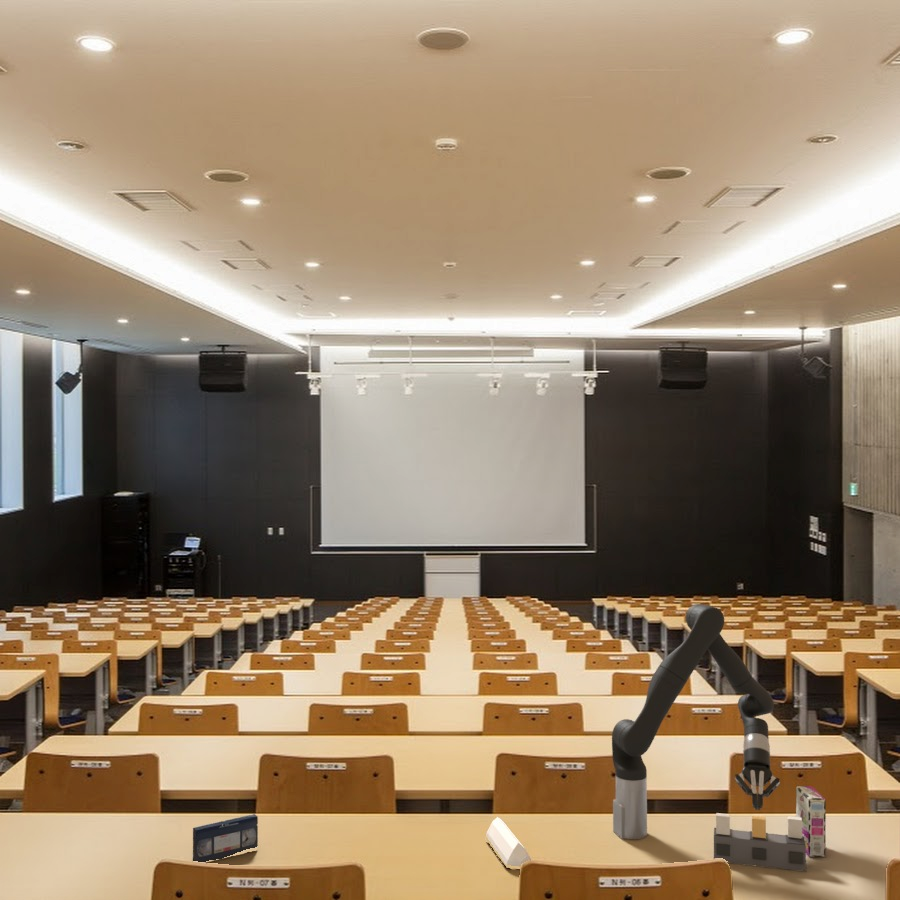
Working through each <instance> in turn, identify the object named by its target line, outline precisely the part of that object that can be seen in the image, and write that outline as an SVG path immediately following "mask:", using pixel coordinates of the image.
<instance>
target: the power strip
mask: <svg viewBox="0 0 900 900" xmlns="http://www.w3.org/2000/svg"><path fill="white" fill-rule="evenodd" d="M806 856H807V854H806V844H805V839H804V837H802V838H792V837H788V834H785V835H784V834H777V833H776V834H775V833H768V832H766V838H758V837H752V830H750V831H747V830H746V831H745V830H740V829H739V830H737V829H733V828H730V835H724V834H716V827H714V828H713V859H714V858H723V859H725V860H726V861H728V862H729V863H728V864H734V865H735V864H736V865H743V864H745V865H744V866H752V865H756V866H755V867H760V866H763V867H762V868H769V867H771V869H778V868H779V869H780V868H782V869H781V870H787V869H790V870H789V871H796V870H798V872H807V857H806Z"/></svg>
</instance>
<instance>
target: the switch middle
mask: <svg viewBox="0 0 900 900" xmlns="http://www.w3.org/2000/svg"><path fill="white" fill-rule="evenodd" d="M751 831H752V837H758V838H766V833H767V820H766V817H763V816H755V815H752V816H751Z"/></svg>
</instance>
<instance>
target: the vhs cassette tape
mask: <svg viewBox="0 0 900 900" xmlns="http://www.w3.org/2000/svg"><path fill="white" fill-rule="evenodd" d="M258 821H259V818H258V815H256V814H255V813H253V814H250V815H244V816H240V817H235V818H231V819H227V820H223V821H222V820H221V821H217V822H213V823H208V824H204V825H201V826H195V827H192V862H193V861H198V862H206V861H209V860H216V859H222V858H224V857H227V856H230V855H233V854H235V853H237V852H241V851H243V850H246V849H250V848H255V847H257V846H258V847H259V844H258V841H259V836H258V835H259V834H258V833H259V832H258V828H259V826H258V823H259V822H258ZM222 860H223V859H222Z"/></svg>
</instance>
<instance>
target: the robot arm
mask: <svg viewBox="0 0 900 900" xmlns="http://www.w3.org/2000/svg"><path fill="white" fill-rule="evenodd" d="M685 621H686V625H687V626H688V628H689V629H690V632H689V633H688V635H687V636H686V638H685V639H684V640H683V642H682V643H681V644H680V645H679V646H678V647H677V648H675V649H674V650H673V651H672V652H670V653H669V654H668V655H667V656H666V657H665V658H664V659H663V660H662V661H661V662H660V663H659V665H658V667H657V668H656V670H655V671H654V673H653V675H652V677H651V679H650V681H649V685H648V688H647V694H646V699H645V703H644V705H643V708H642V710H641V711H640V713H639V714H638V716H637V718H635V720H632V719H629V718H627V719H625V718H624V719H621V720H619V721H618V722H617V723H616V724H614V725H615V726H614V727H613V729H612V734H611V749H612V751H611V754H612V764H613V767H614V771H615V775H614V776H615V778H614V779H615V798H614V799H612V829H613V830H612V832H613V833H615V835H617V836H618V837H619V838H620V839H626V838H627V840H640V839H644V838H646V837H647V836H648V802H647V801H648V798H647V797H648V793H647V792H648V789H647V788H648V787H647V786H648V785H647V784H648V783H647V779H648V778H647V777H648V776H647V774H648V773H647V772H648V771H647V767H646V763H644V761H643V758H642V755H644V754H645V753H646V752H647V751H648V750H649V749H650V747H651V745H652V743H653V741H654V739H655V737H656V736H657V734H658V731H659V729H660V728H661V724H662V723H663V722H664V719H665V718H666V716H667V714H668V713H669V711H670V710H671V708H672V706H673V704H675V701H676V699H677V698H678V696H679V695H680V693H681V692H682V691H683V689H684V687H685V685H686V684H687V682H688V680H689V679H690V676H691V675H692V674H693V672H694V671H695V669H696V667H698V664H699V662H700V661H701V659H702V657H703V656H704V655H705V653H706V652H707V651H708V653H709V654H710V655H711V657H712V658H713V660H714V662H716V664H717V665H718V667H719V668H720V670H721V672H722V673H723V676H724V677H725V678H726V680H727V682H728V684H729V685H730V686H731V688H732V689H733V691H734V692H735V693H738V694H743V695H741V696H740V697H739V699H738V702H737V708H738V711H739V714H740V717H741V720H742V721H741V722H742V723H743V732H744V733H743V736H744V737H743V746H742V748H743V749H742V751H743V756H742V757H743V767H742V769H741V772H740V773H736V774H735V775H734V781H735V782H736V784H738V786H739V787H740V788H741V789H742V791H743V792H744V793H745V795H747V796H751V799H752V800H751V803H752V804H751V806H752V808H754V810H755V811H761V809H763V807H764V800H763V799H764V797H765V798H768V797H770V795H771V794H772V793H773V792H774V791H775V790H777V788H778V787H779V786H780V778H779V777H776V776H774V775H773V772H772V770H771V749H770V742H769V741H770V740H769V725H768V723H767V721H766V720H764V719H763V718H759V717H760V716H763V715H764V716H765V715H767V714H770V713H772V712H773V710H774V708H775V704H774V702H775V701H774V700H773V697H772V695H771V694H770V693H769V692H768V691H767V689H765V688H764V687H763V686H762V684H760V683H759V682H758V681H757V680H756V679H755V678H754V677H753V675H752V673H750V671H749V669H748V668H747V665H745V663H744V661H743V660H742V659H741V657H740V656H739V655H738V654H737V653H736V652H735V651H734V649H733V648H732V647H731V646H730V645H729V644H728V643H727V641H726V640H725V639H724V638H723V636H722V635H721V632H722V631H723V628H724V626H725V616H724V613H723V612H722V611H721V609H719V607H718V608H717V607H716V606H712V605H709V604H708V605H707V604H703V603H701V604H700V603H698V604H697V603H695V604H693V605H691V606H689V608H687V611H686V615H685ZM745 780H746V782H747V783H746V782H745ZM769 782H770V784H769V785H768V786H767V787H766V788H765V789H764V787H765V786H766V785H767V784H768V783H769ZM748 784H749V785H750V786H749V785H748ZM757 787H758V791H757Z"/></svg>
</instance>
